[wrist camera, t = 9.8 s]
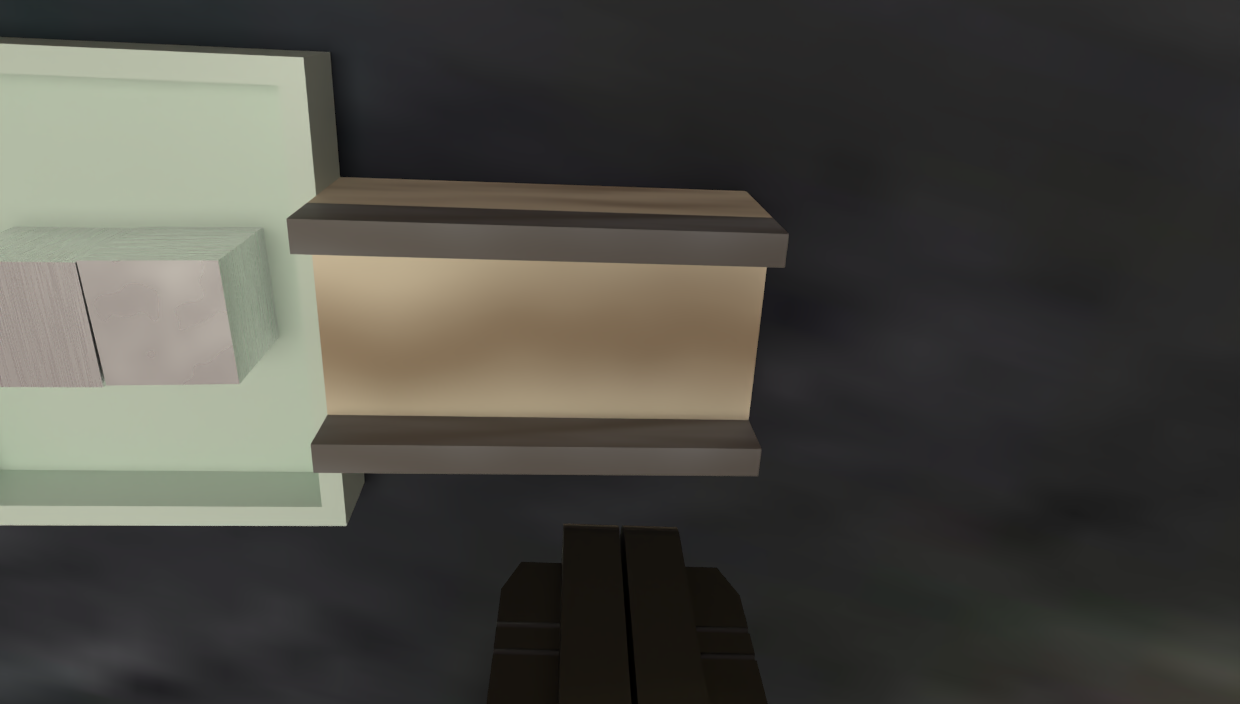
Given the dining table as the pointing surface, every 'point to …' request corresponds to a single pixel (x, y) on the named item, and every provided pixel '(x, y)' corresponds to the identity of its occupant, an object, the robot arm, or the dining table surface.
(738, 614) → the robot arm
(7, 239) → the pale grey cube
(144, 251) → the light grey cube
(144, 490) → the tray
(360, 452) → the slot board
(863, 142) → the dining table surface
